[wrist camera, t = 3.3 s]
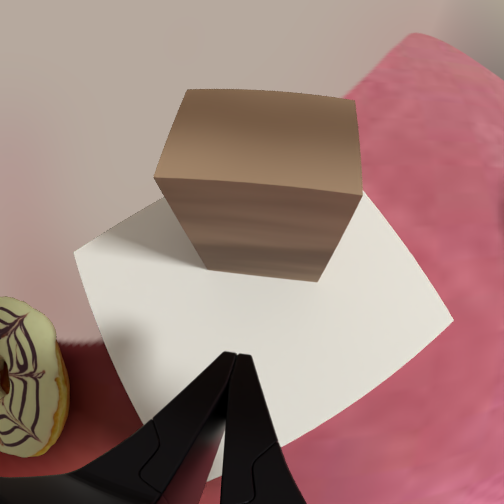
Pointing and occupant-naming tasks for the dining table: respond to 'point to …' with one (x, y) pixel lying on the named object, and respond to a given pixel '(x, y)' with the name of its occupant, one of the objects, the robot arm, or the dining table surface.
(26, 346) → the decorated donut
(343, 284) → the rubber mat
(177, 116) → the walnut block
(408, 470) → the dining table surface
